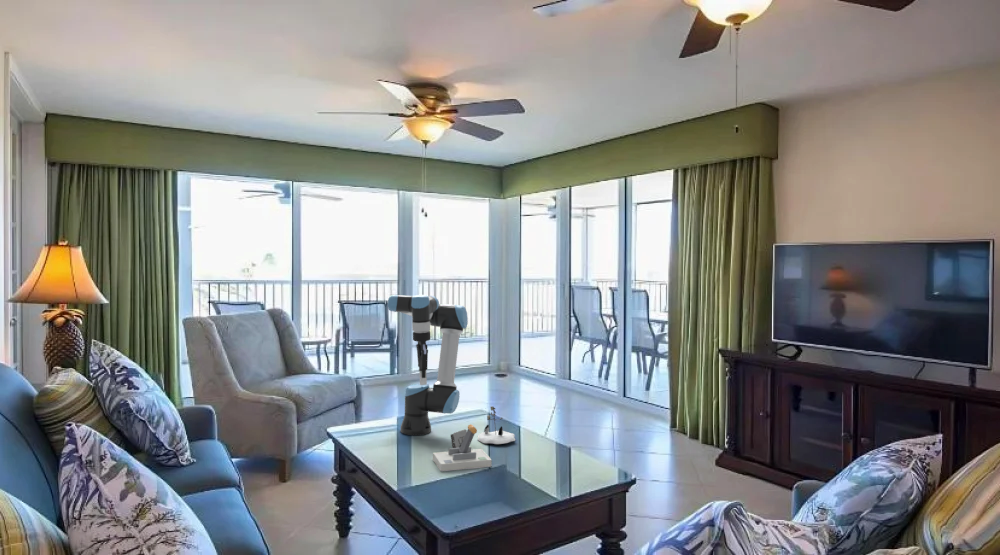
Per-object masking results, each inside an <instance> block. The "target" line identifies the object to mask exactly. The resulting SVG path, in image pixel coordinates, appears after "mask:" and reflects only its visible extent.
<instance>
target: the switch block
mask: <svg viewBox="0 0 1000 555" xmlns="http://www.w3.org/2000/svg"><path fill="white" fill-rule="evenodd" d="M459 449H460V448H453V447H452V448H451V447H450V448H448V449H447V450H448V451H438V452H432V460H433V462H434V464H435V465H436V468H438V469H439V471H440V472H448V471H460V470H470V469H479V468H480V469H482V468H490V467H492V464H493V463H492V461H493V460H492V459H491V457H490V456H489V454H487V453H486V452H485V451H484V450H483V449H482V448H477V449H476V448H475V449H474V448H473V449H472V446H469V448H468V451H467V453H459V452H458V450H459Z"/></svg>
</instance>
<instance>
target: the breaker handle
mask: <svg viewBox="0 0 1000 555" xmlns="http://www.w3.org/2000/svg"><path fill="white" fill-rule="evenodd" d="M466 431H467V433H466V435H465V437H464V440H463V442H462V444H461V447H460V449H459V450H458V452H459V453H467V451H468V448H469V447H471V446H470V445H471V444H472V441H473V438H474V436H475V434H477V432H478V429H477V428H476V427H475V426H474V425H473V424H471V423H470V424H469V425H467V429H466Z"/></svg>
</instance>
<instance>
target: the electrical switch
mask: <svg viewBox="0 0 1000 555" xmlns="http://www.w3.org/2000/svg"><path fill="white" fill-rule="evenodd" d="M466 433H467V429H462V430H458V431H455V432H453V433H451V434H450V440H451V444H452V445H451V446H452V448H460V447H461V444H462V442H463V440H464V437H465V435H466Z"/></svg>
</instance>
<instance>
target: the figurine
mask: <svg viewBox="0 0 1000 555" xmlns="http://www.w3.org/2000/svg"><path fill="white" fill-rule="evenodd" d="M495 410H496V407H494V406H490V411H489V412H490V415H487V416H486V420H487V421H492V420H493V421H494V424H496V421H500V420H502V419H504V418H503V417H500V418H498V419H497V418H495V416H497V415H496V414H497V412H496V411H495ZM492 411H493V412H492ZM491 416H492V417H493V418H491ZM477 441H479V442H480V443H482V444H492V445H493V444H494V445H502V444H508V443H511V442H515V441H516V438H515V433H511V432H508V431H505V430H503V426H500V427H499V428H498V430H497V429H496V426H494V431H490V424H486V426H485V428H484V430H483V431H482V432H481V433H479V434H478V435H477Z"/></svg>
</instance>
